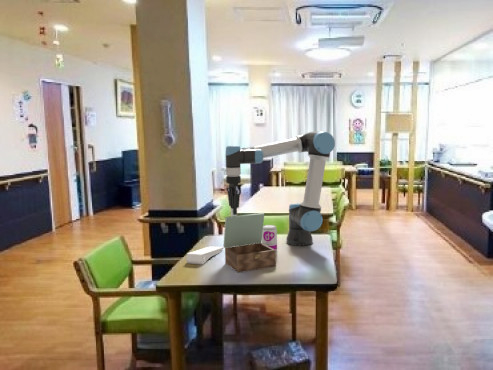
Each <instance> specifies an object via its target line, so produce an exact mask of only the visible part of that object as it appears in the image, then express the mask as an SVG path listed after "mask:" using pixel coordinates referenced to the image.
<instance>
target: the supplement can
mask: <svg viewBox="0 0 493 370" xmlns="http://www.w3.org/2000/svg"><path fill="white" fill-rule="evenodd" d="M261 243H263V244H265V245H267V246H269V247H271V248H273V249H275V250H276V254H278V229H277V227H276V225H274V224H265V225H264V224H263V231H262V241H261Z"/></svg>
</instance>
